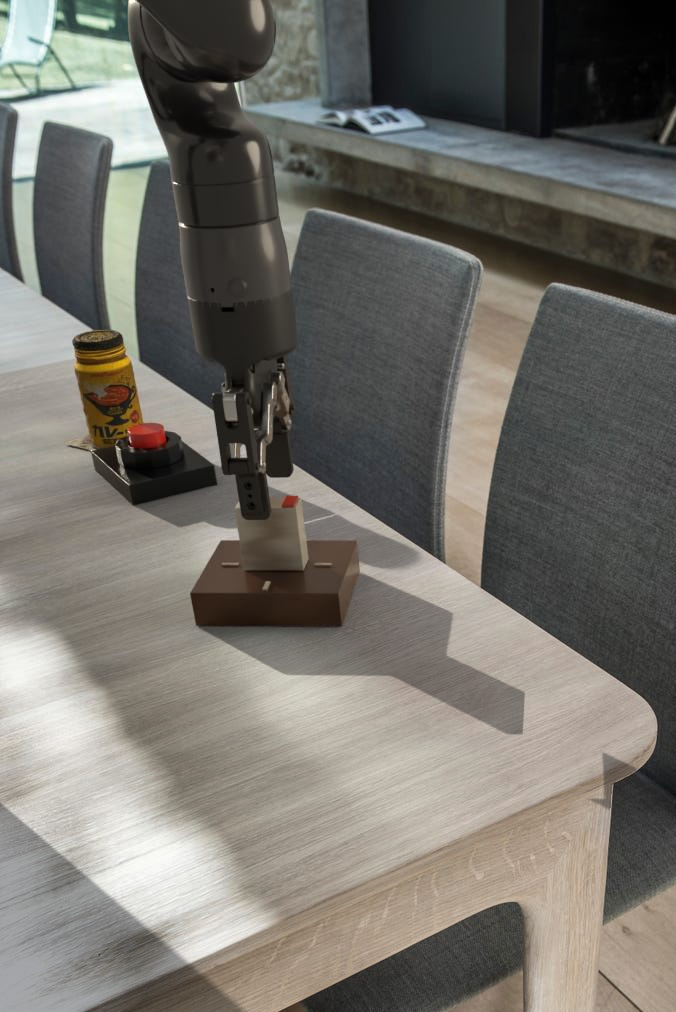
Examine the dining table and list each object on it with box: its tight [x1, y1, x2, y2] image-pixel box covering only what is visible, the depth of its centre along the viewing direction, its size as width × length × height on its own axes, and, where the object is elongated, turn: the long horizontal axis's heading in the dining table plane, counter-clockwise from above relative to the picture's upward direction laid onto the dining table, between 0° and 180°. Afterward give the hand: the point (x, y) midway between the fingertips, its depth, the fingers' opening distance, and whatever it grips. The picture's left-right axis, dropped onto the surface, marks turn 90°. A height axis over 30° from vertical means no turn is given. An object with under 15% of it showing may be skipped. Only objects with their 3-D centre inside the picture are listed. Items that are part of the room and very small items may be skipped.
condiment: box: [64, 329, 144, 452], centre depth 127 cm, size 7×8×12 cm
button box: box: [90, 430, 218, 506], centre depth 120 cm, size 12×9×4 cm
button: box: [128, 422, 167, 448], centre depth 118 cm, size 4×4×2 cm
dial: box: [234, 495, 308, 571], centre depth 94 cm, size 5×2×6 cm, turn 87°
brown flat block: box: [189, 539, 361, 627], centre depth 96 cm, size 12×10×3 cm
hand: (269, 496), depth 92 cm, fingers open, 8 cm apart
